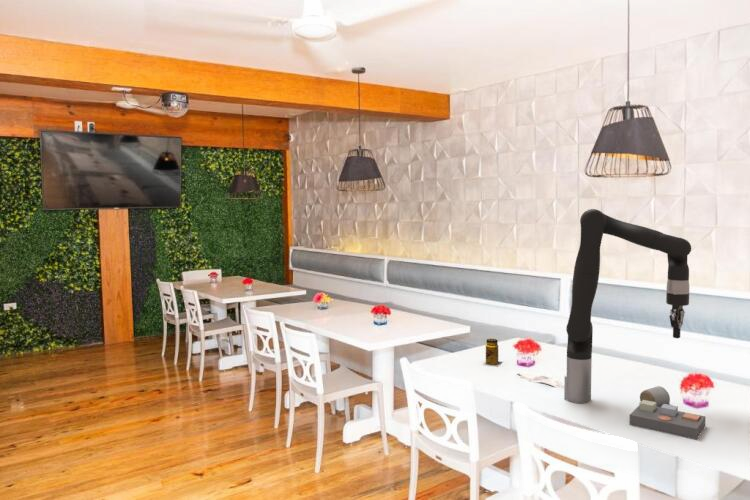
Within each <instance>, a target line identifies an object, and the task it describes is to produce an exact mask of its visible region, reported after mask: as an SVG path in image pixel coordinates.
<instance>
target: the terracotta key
mask: <svg viewBox="0 0 750 500" xmlns="http://www.w3.org/2000/svg"><path fill="white" fill-rule="evenodd" d="M700 415H701V414H696V415H695V413H691V414H690V412H686V413H685V414H684V415H683V419H687V420H692V421H697V422H698V421H699V420H700Z"/></svg>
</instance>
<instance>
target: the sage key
mask: <svg viewBox="0 0 750 500" xmlns="http://www.w3.org/2000/svg"><path fill="white" fill-rule="evenodd" d="M638 406H639V410H642V411H647V412H652V413H654V412H655V411H656V402H652V401H647V400H642V401H640V402H639V405H638Z"/></svg>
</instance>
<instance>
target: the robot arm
mask: <svg viewBox="0 0 750 500" xmlns="http://www.w3.org/2000/svg"><path fill="white" fill-rule="evenodd" d="M579 220H580V221H579V222H580V243H579V249H578V252H577V255H576V259H575V264H574V268H573V274H572V275H573V276H572V287H571V288H572V289H571V307H570V312H569V318H568V321H567V324H566V334H567V347H566V374H565V375H564V390H563V391H564V393H563V394H564V396H563V397H564V400H567V401H569V402H570V403H576V404H587V403H590V402H591V400H592V362H593V361H592V360H593V359H592V355H593V334H594V333H593V328H594V327H593V324H592V308H593V304H594V301H595V297H596V293H597V289H598V285H599V278H600V270H601V269H600V268H601V267H600V265H601V245H602V241H603V237H604V236H603V235H604V234H605V235H610V236H612V237H613V236H614V237H617V238H620V239H622V240H624V241H627V242H630V243H632V244H635V245H638V246H641V247H644V248H646V249H650V250H655V251H660V252H662V253H664V254H666V255H667V257H666V258H667V264H668V265H667V266H668V267H667V281H666V298H665V301H666V302H665V303H666V304H667V305H670V306H672V307H671V309H670V311H669V314H670V315H669V321H670V326H671V328H672V338H673V339H679V338H681V330H682V329H681V328H682V325H684V317H685V313H686V312H685V309H684V306H685V307H686V306H689V304H690V267H689V264H688V256H689V255H690V253H691V251H692V245H691V243H690V241H688V239H685V238H682V237H678V236H674V235H670V234H666V233H664V232H661V231H659V230H656V229H652V228H649V227H645V226H642V225H639V224H634V223H630V222H627V221H622V220H620V219H616V218H614V217H611V216H609V215H607V214H605V213H603V212H602V211H601V210H598V209H596V208H591V209H587V210H586V211H584V212H583V213H582V215H581V217H580V218H579Z"/></svg>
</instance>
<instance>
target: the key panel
mask: <svg viewBox="0 0 750 500" xmlns="http://www.w3.org/2000/svg"><path fill="white" fill-rule="evenodd" d="M685 413H687V412H685V411H680V410H678V415H677V416H676V417H672V416H667V415H662V414H661V408H660V407H656V411H655V412H654V413H652V412H647V411H642V410H639V405H638V406H637V407H636V408H635V409H634V410H633V411H632V412H631V413H629V426H632V427H633V426H634V427H638V428H642V429H648V430H652V431H657V432H660V433H665V434H670V435H675V436H680V437H684V438H688V437H689V438H688V439H692V438H694V440H697V439H698V438H699V437H700V435H701V434H702V432H703V431H704V429H705V428H704V427H706V415H701V414H699V415H700V420H699V421H698V422H697V421H692V420H687V419H683V415H684V414H685ZM689 413H690V412H689ZM690 414H692V413H690ZM694 414H695V413H694ZM695 415H697V414H695ZM702 430H703V431H702ZM700 433H701V434H700ZM698 436H699V437H698Z"/></svg>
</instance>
